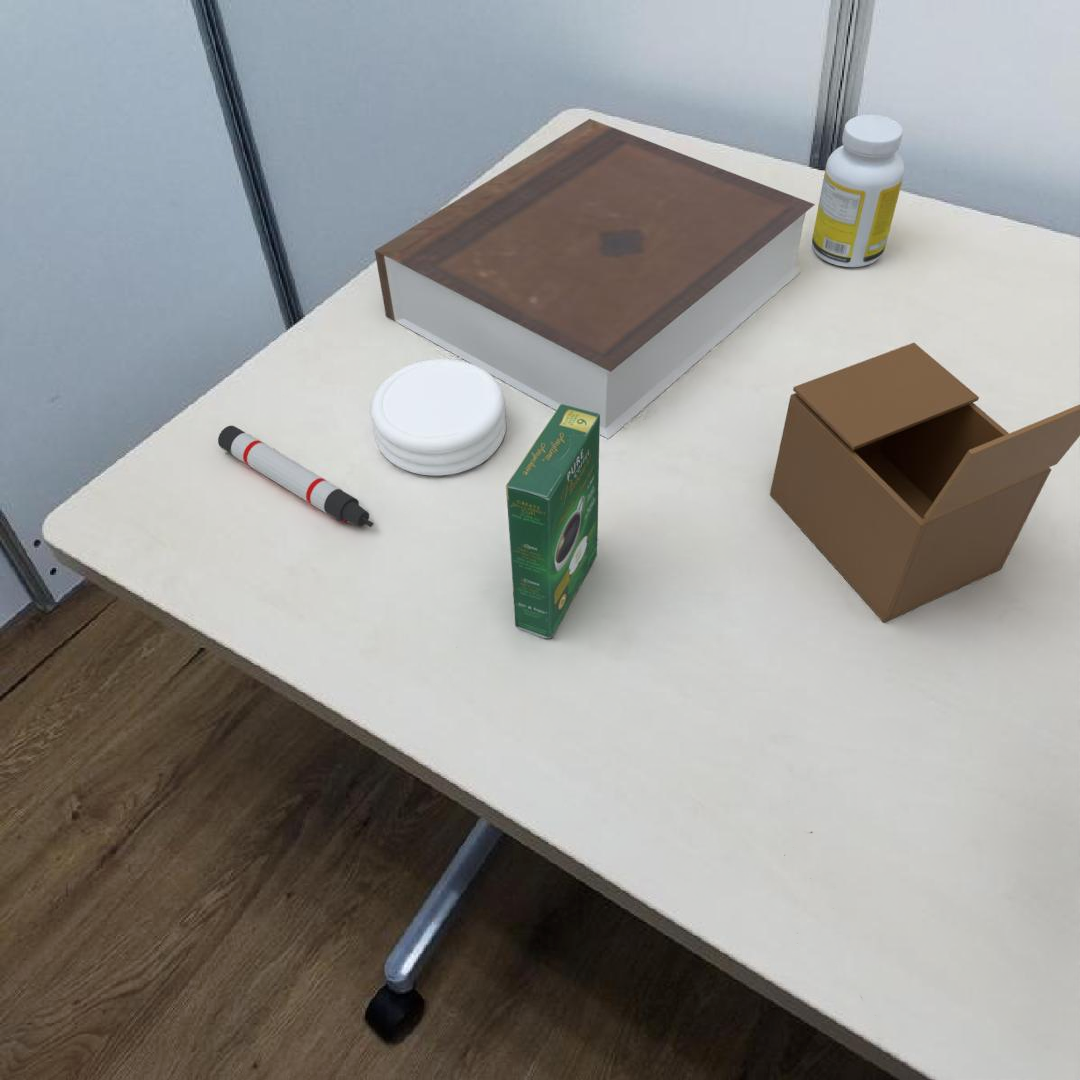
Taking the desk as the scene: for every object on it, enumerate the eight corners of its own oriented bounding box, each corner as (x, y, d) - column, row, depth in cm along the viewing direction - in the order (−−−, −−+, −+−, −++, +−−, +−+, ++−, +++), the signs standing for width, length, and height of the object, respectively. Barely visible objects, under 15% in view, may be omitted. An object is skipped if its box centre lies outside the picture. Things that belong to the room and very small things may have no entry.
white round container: (350, 453, 77) (342, 419, 74) (420, 376, 82) (415, 341, 80) (464, 496, 73) (460, 461, 71) (529, 412, 79) (527, 377, 76)
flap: (1053, 460, 60) (1056, 464, 60) (923, 516, 58) (926, 520, 57) (1109, 391, 55) (1112, 396, 55) (968, 449, 52) (972, 454, 52)
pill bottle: (887, 236, 94) (919, 114, 85) (878, 276, 90) (911, 152, 81) (816, 225, 95) (840, 104, 86) (804, 263, 91) (828, 141, 82)
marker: (221, 453, 77) (214, 434, 75) (241, 439, 78) (234, 420, 76) (367, 544, 71) (362, 525, 69) (386, 527, 72) (382, 507, 70)
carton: (1001, 568, 68) (1056, 461, 60) (883, 622, 65) (924, 517, 57) (879, 450, 75) (914, 341, 68) (769, 494, 73) (792, 386, 65)
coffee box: (562, 541, 70) (559, 397, 60) (600, 553, 69) (604, 410, 60) (511, 627, 66) (500, 487, 56) (552, 642, 65) (547, 502, 55)
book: (386, 316, 88) (374, 250, 83) (589, 182, 101) (589, 118, 96) (608, 439, 77) (610, 371, 72) (802, 270, 90) (815, 204, 85)
